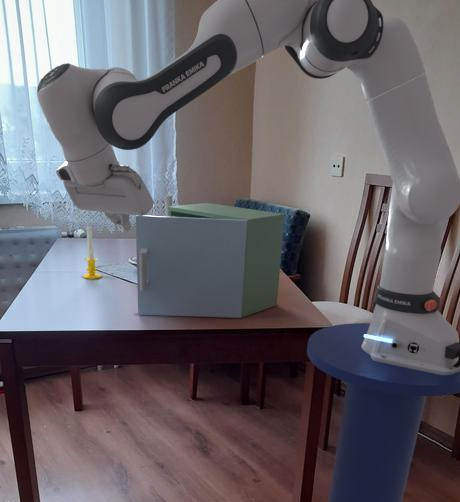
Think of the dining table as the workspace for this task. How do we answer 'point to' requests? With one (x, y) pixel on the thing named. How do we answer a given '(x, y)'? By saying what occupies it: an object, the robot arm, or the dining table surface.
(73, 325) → the dining table surface
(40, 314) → the dining table surface
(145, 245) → the cupboard door
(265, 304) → the cupboard
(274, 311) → the dining table surface
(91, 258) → the candle
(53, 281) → the dining table surface
